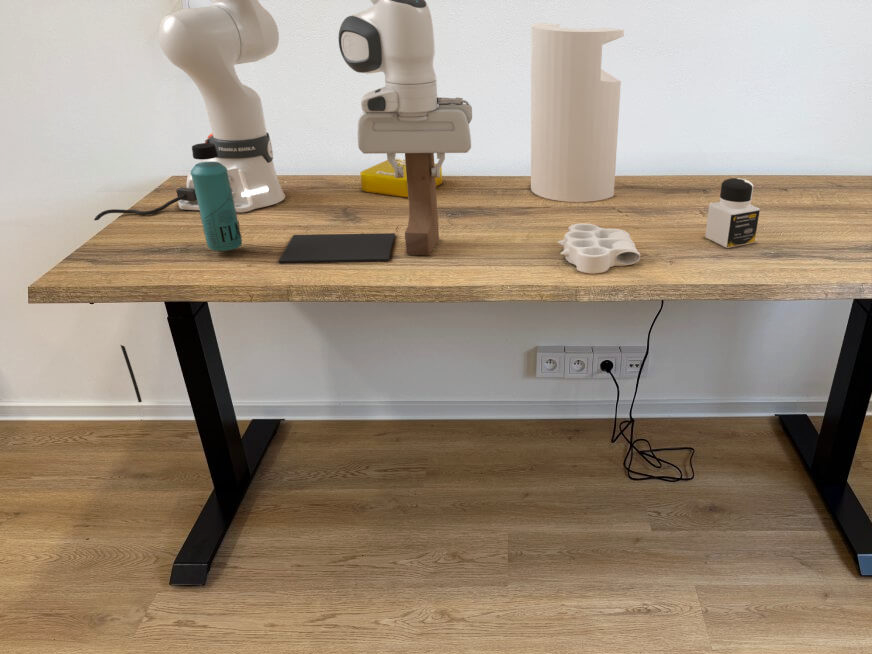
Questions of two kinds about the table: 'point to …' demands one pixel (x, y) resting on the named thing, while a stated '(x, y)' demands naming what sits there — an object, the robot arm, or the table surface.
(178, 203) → the robot arm
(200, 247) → the table surface
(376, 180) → the element tile
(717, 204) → the medicine bottle
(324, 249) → the desk mat
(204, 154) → the beverage bottle
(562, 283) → the table surface
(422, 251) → the wooden block
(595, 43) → the beige notched cylinder
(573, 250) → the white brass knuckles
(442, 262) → the table surface
